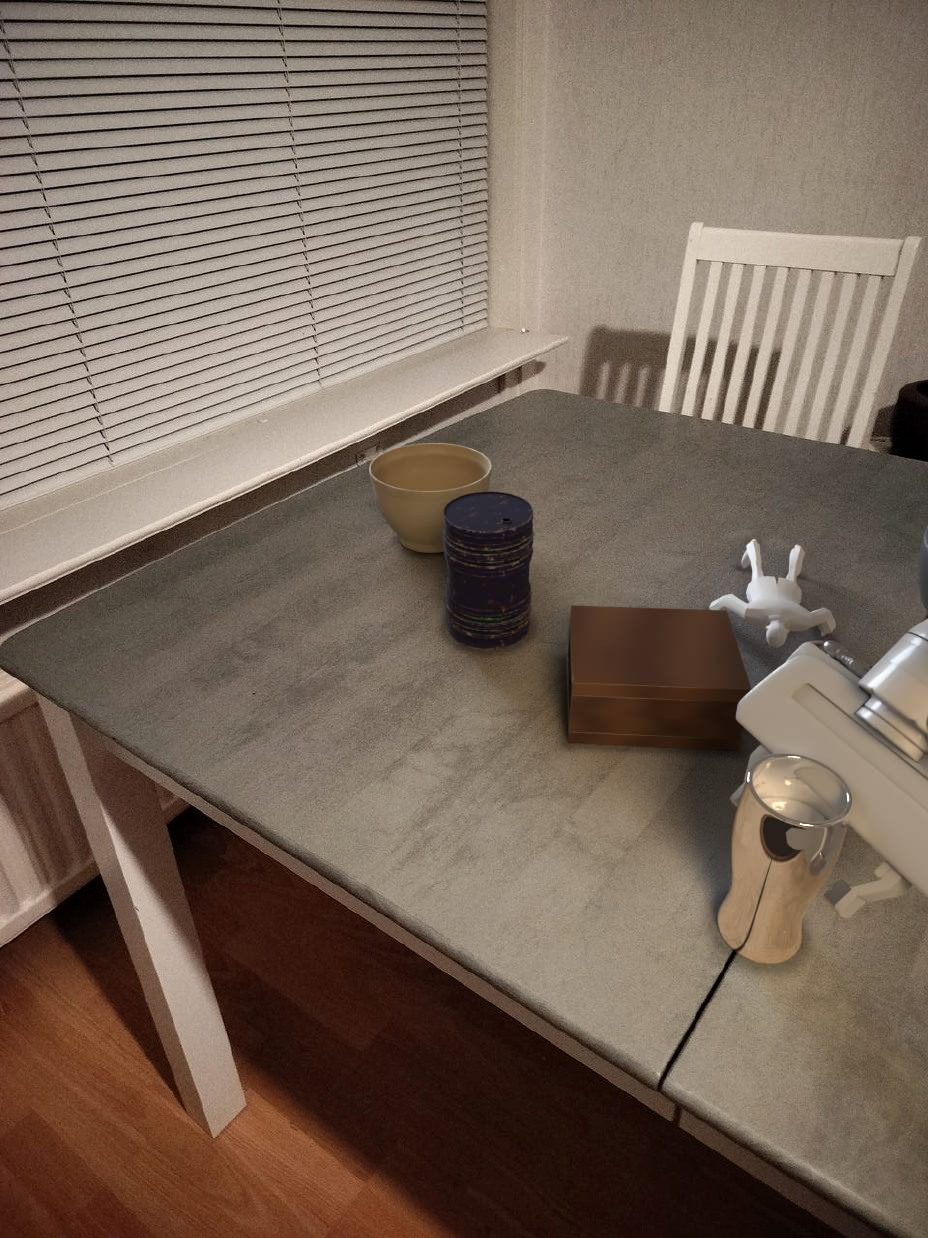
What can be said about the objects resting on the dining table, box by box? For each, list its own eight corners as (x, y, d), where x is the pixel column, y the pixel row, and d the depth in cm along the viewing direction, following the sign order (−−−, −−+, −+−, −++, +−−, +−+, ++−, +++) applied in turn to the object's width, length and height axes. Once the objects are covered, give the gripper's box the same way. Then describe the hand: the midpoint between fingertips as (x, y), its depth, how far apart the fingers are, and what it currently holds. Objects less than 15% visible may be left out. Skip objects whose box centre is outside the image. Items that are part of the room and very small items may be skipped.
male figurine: (712, 577, 108) (701, 663, 86) (720, 533, 105) (710, 610, 84) (823, 593, 104) (840, 687, 83) (834, 547, 102) (854, 632, 80)
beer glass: (697, 940, 62) (729, 799, 53) (728, 876, 66) (762, 737, 58) (792, 987, 58) (842, 845, 50) (817, 916, 63) (867, 775, 55)
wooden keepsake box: (715, 668, 89) (726, 610, 85) (737, 751, 78) (751, 690, 74) (566, 662, 90) (570, 605, 86) (568, 743, 80) (572, 682, 75)
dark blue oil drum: (429, 623, 97) (423, 509, 89) (491, 593, 102) (491, 482, 94) (485, 661, 91) (484, 542, 82) (548, 627, 96) (553, 512, 87)
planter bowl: (493, 566, 108) (494, 489, 102) (370, 568, 108) (363, 492, 102) (489, 510, 121) (489, 440, 115) (380, 512, 121) (374, 442, 115)
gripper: (801, 610, 61) (673, 746, 63) (1064, 798, 45) (880, 969, 47) (834, 645, 65) (712, 772, 67) (1087, 829, 49) (916, 986, 51)
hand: (783, 855), depth 57 cm, fingers open, 8 cm apart
